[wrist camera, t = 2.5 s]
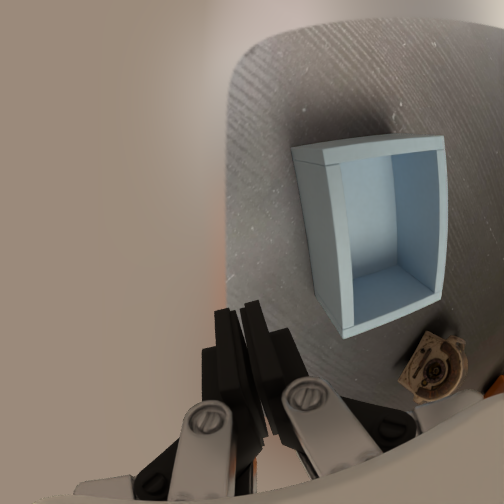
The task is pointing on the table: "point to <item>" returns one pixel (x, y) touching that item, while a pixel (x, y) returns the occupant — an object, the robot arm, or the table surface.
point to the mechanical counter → (435, 368)
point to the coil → (496, 387)
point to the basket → (374, 225)
